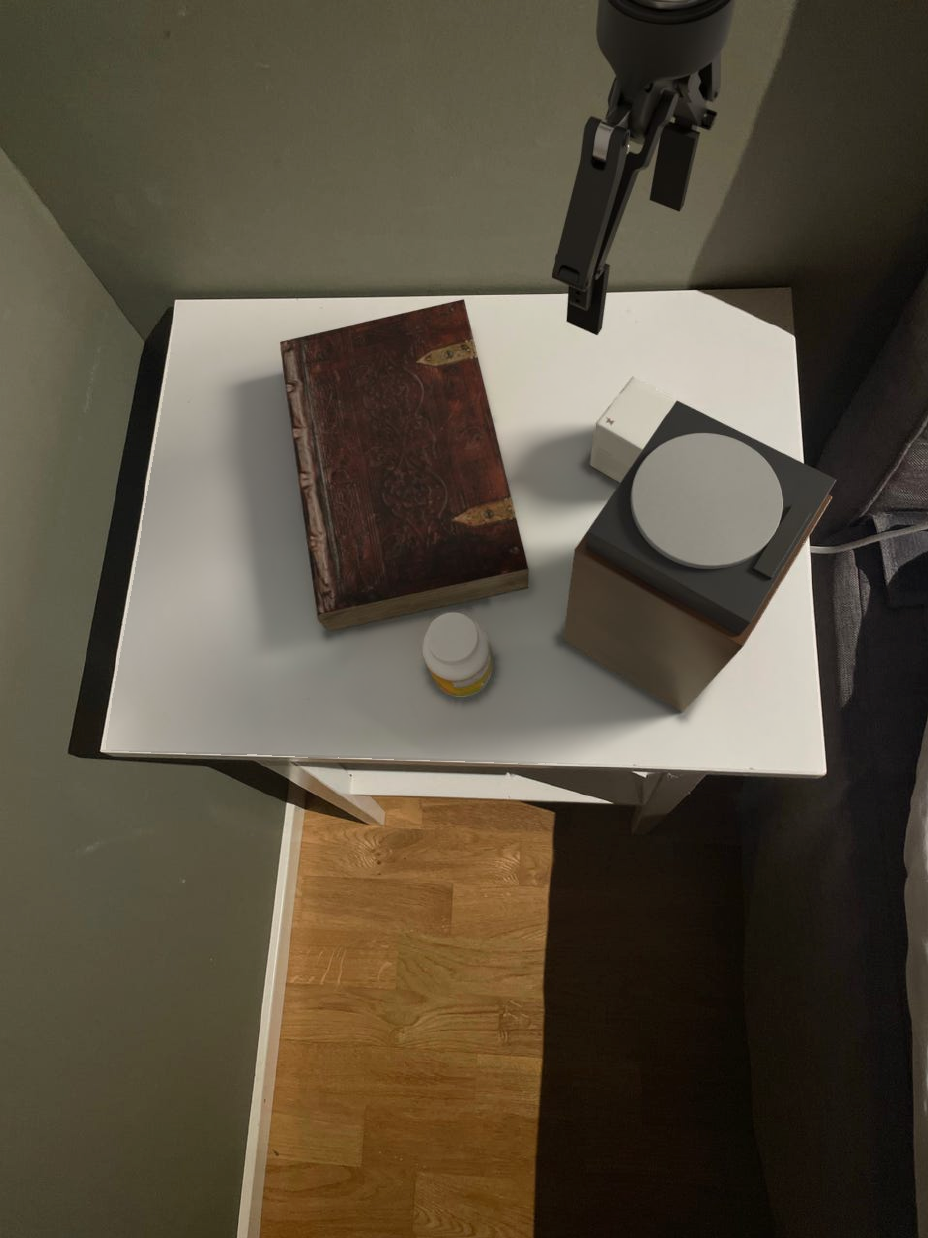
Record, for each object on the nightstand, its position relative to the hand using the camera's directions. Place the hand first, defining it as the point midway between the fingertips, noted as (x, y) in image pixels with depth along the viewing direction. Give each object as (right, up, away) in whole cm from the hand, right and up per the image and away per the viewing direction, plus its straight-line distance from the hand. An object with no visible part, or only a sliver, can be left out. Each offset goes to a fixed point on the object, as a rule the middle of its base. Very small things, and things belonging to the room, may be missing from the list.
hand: (626, 262), depth 62 cm
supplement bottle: (-13, -33, +8) cm, 36 cm away
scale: (+3, -22, -12) cm, 25 cm away
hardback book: (-19, -14, +14) cm, 28 cm away
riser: (+4, -28, +7) cm, 30 cm away
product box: (+3, -13, +13) cm, 19 cm away
